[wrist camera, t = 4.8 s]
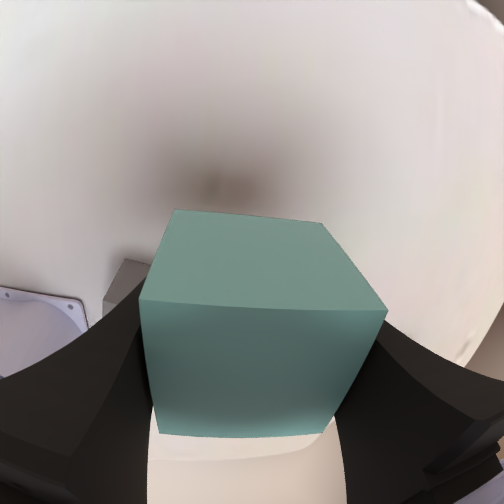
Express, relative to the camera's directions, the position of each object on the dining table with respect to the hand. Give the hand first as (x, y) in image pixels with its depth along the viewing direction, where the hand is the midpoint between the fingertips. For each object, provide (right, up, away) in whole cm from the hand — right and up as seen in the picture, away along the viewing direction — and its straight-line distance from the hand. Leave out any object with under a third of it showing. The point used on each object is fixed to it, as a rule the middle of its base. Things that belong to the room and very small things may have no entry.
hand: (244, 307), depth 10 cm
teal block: (0, +1, +1) cm, 2 cm away
